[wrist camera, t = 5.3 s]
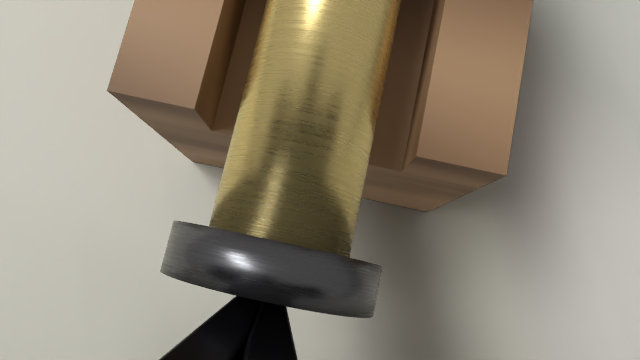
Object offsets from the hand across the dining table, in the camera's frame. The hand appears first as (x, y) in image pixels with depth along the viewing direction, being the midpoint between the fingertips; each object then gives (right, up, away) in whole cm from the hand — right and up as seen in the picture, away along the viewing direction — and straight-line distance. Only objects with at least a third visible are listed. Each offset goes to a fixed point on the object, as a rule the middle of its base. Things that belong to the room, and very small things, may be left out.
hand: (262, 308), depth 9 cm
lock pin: (+2, +8, +4) cm, 9 cm away
